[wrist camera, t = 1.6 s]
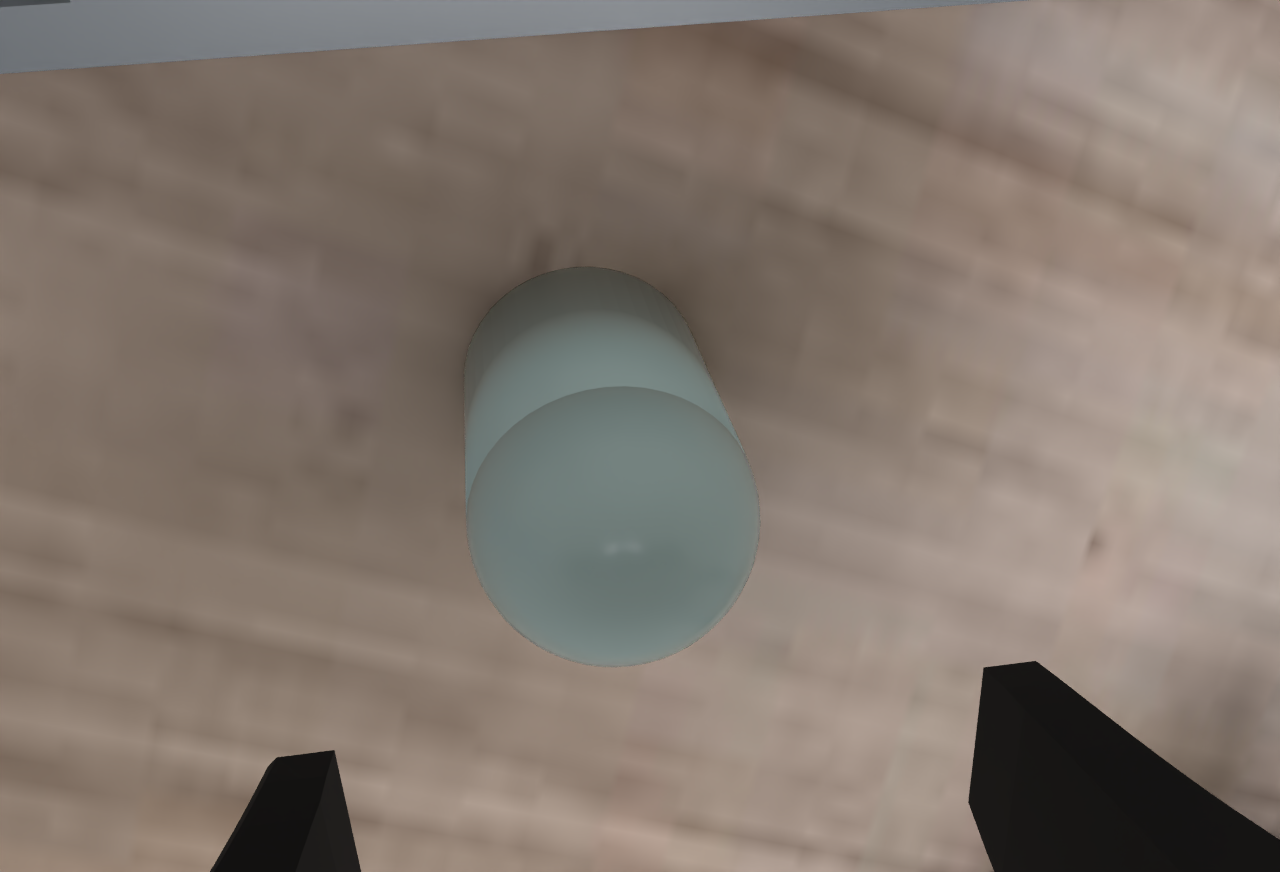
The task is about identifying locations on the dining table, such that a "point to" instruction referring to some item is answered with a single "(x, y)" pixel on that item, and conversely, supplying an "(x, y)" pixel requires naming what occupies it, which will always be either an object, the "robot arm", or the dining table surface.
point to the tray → (343, 24)
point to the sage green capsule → (602, 472)
